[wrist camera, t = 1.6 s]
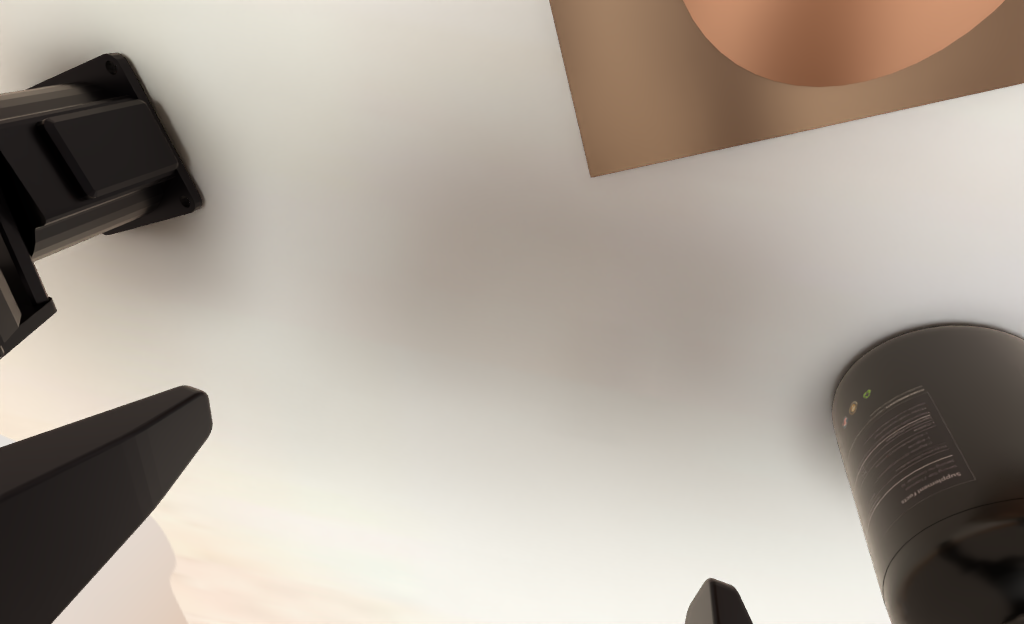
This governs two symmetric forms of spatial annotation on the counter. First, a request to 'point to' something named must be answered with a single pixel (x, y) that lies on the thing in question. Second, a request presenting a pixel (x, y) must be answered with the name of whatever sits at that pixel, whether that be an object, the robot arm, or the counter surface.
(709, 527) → the counter surface
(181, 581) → the counter surface
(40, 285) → the robot arm
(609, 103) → the card
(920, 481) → the supplement bottle
